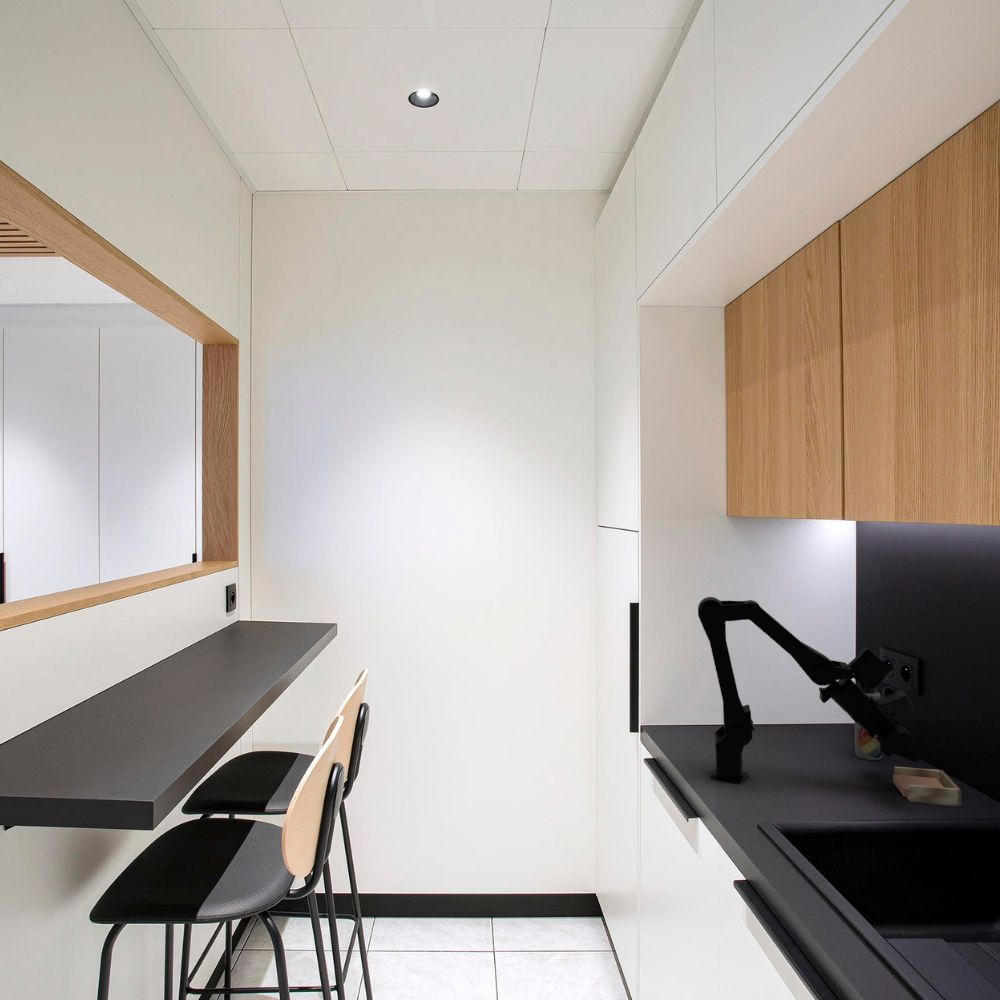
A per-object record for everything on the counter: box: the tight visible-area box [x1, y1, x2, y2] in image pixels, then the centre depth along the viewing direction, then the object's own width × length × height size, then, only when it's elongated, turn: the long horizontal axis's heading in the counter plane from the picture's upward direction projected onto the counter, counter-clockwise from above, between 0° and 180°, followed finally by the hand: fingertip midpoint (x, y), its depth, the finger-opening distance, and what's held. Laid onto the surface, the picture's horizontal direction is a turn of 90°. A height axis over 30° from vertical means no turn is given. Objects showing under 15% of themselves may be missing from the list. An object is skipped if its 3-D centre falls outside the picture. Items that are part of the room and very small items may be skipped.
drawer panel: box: [892, 774, 943, 798], centre depth 143 cm, size 2×8×8 cm
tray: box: [894, 766, 963, 807], centre depth 143 cm, size 9×11×3 cm
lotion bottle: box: [854, 681, 883, 761], centre depth 165 cm, size 6×6×20 cm
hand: (916, 760), depth 143 cm, fingers closed
